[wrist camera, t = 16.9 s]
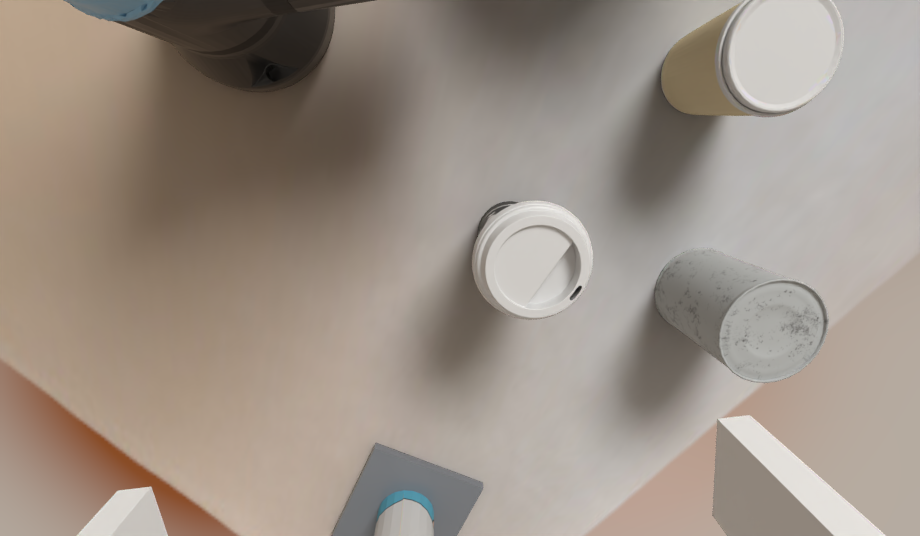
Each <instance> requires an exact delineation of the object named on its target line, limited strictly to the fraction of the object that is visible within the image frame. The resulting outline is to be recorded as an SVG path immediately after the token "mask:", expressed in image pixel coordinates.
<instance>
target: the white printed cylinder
mask: <svg viewBox="0 0 920 536" xmlns="http://www.w3.org/2000/svg"><path fill="white" fill-rule="evenodd" d="M374 536H434V510H433V506H432V504H431V503H430V501H429V500H428V498H426V497H425V496H423V495H422V494H420V493H418V492H415V491H407V490H403V491H398V492H394V493H393V494H391V495H389V496H387V497H386V498H385V499H384V500H383V501H382V503H381V505H380V507H379V510H378V516H377V522H376V528H375V534H374Z"/></svg>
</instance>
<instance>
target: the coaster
mask: <svg viewBox="0 0 920 536" xmlns="http://www.w3.org/2000/svg"><path fill="white" fill-rule="evenodd" d="M403 490H407V491H415V492H418V493H420V494H422V495H423V496H425V497H426V498H428V500H429V501H430V503H431V504H432V506H433V510H434V536H457V535H458V533H459V531H460V529H461V528H462V526H463V524H464V522H465V520H466V519H467V517H468V515H469V513H470V511H471V510H472V508H473V506H474V504H475V502H476V501H477V499H478V497H479V495H480V494H481V492H482V490H483V483H482V482H480V481H477V480H474V479H472V478H469V477H466V476H464V475H461V474H458V473H456V472H453V471H450V470H448V469H445V468H442V467H439V466H437V465H434V464H431V463H429V462H426V461H423V460H421V459H418V458H415V457H413V456H410V455H407V454H405V453H402V452H399V451H397V450H394V449H391V448H389V447H386V446H383V445H380V444H378V443H375V446H374V448H373V450H372V452H371V454H370V456H369V458H368V460H367V462H366V464H365V466H364V468H363V470H362V472H361V474H360V477H359V479H358V481H357V483H356V485H355V487H354V489H353V491H352V493H351V495H350V497H349V499H348V501H347V503H346V506H345V508H344V510H343V512H342V514H341V516H340V518H339V520H338V522H337V524H336V526H335V528H334V530H333V532H332V535H331V536H374V534H375V528H376V522H377V516H378V510H379V507H380V505H381V503H382V501H383V500H384V499H385V498H386V497H387V496H389V495H391V494H393V493H394V492H398V491H403Z"/></svg>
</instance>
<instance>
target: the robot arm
mask: <svg viewBox="0 0 920 536" xmlns="http://www.w3.org/2000/svg"><path fill="white" fill-rule="evenodd" d="M64 1H66V2H68V3H70V4H71V5H72V6H73V7H75V8H76V9H78V10H80V11H82V12H84V13H85V14H87V15H91V16H94V17H96V18H98V19H105V20H107V21H114V22H117V23H119V24H122V25H125V26H127V27H130V28H132V29H135V30H138V31H140V32H143V33H146V34H148V35H151V36H154V37H156V38H159V39H162V40H164V41H167V42H170V43H172V45H173V46H174V47H175V49H176V50H177V51H178V52H179V53H180V55H181V56H182V57H183V58H184V59H185V60H186V61H187V62H189V63H190V64H191V65H192V66H193V67H194V68H196V69H197V70H198V71H200V72H201V73H203V74H204V75H206V76H208V77H209V78H211V79H213V80H215V81H217V82H219V83H222V84H224V85H227V86H231V87H234V88H238V89H241V90H246V91H253V92H268V91H275V90H279V89H283V88H285V87H288V86H290V85H293V84H295V83H296V82H298V81H300V80H301V79H303V78H304V77H305V76H306V75H308V74H309V73H310V72H311V71H312V70H313V69H314V68H315V67H316V65H317V64H318V63H319V61H320V60H321V59H322V57H323V55H324V53H325V51H326V50H327V47H328V45H329V42H330V39H331V36H332V32H333V27H334V19H335V7H337V6H343V5H350V4H356V3H362V2H368V1H375V0H64ZM715 457H716V458H715V476H714V495H713V517H714V518H715V519H716V521H717V522H718V524H719V525H720V526H721V528H722V529H723V531H724V532H725V533H726V535H727V536H886V535H884V533H882V532H881V531H880V530H879V529H878V528H877V527H876V526H874V525H873V524H872V523H871V522H870V521H869V520H868V519H867V518H865V517H864V516H863V515H862V514H861V513H860V512H859V511H858V510H856V509H855V508H854V507H853V506H852V505H851V504H850V503H848V502H847V501H846V500H845V499H844V498H843V497H842V496H841V495H839V494H838V493H837V492H836V491H835V490H834V489H833V488H831V487H830V486H829V485H828V484H827V483H826V482H825V481H824V480H823V479H821V478H820V477H819V476H818V475H817V474H816V473H815V472H813V471H812V470H811V469H810V468H809V467H808V466H807V465H806V464H804V463H803V462H802V461H801V460H800V459H799V458H798V457H796V456H795V455H794V454H793V453H792V452H791V451H790V450H789V449H787V448H786V447H785V446H784V445H783V444H782V443H781V442H780V441H778V440H777V439H776V438H775V437H774V436H773V435H772V434H771V433H769V432H768V431H767V430H766V429H765V428H764V427H763V426H761V425H760V424H759V423H758V422H757V421H756V420H754V418H752V417H751V416H750V415H748V416H739V417H730V418H722V419H717V438H716V456H715ZM77 536H168V534H167V531H166V529H165V526H164V523H163V520H162V517H161V514H160V511H159V508H158V505H157V503H156V499H155V496H154V493H153V490H152V487H145V488H137V489H128V490H120V491H117V492H116V493H115V494H114V495H113V496H112V497H111V499H110V500H109V501H108V502H107V503H106V504H105V505H104V506H103V507H102V509H100V511H99V512H98V513H97V514H96V515H95V516H94V517H93V518H92V519H91V521H90V522H89V523H88V524H87V525H86V526H85V527H84V528H83V529H82V530H81V531H80V533H79V534H78V535H77Z"/></svg>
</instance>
